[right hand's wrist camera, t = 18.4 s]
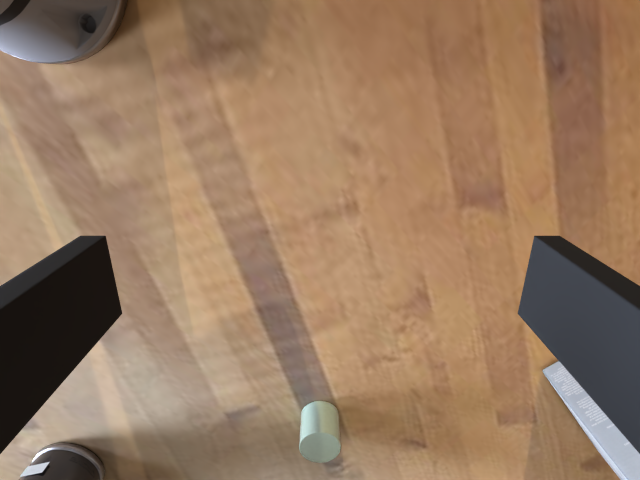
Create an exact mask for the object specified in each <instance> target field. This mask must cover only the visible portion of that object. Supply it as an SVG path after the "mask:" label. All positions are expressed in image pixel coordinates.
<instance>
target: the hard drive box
mask: <svg viewBox="0 0 640 480" xmlns="http://www.w3.org/2000/svg"><path fill="white" fill-rule="evenodd" d="M543 373H544V374H545V376H546V377H547V379H548V380H549V381H550V383H551V384H552V386H553V387H554V389H555V390H556V391H557V393H558V394H559V396H560V397H561V398H562V400H563V401H564V403H565V404H566V406H567V407H568V409H569V410H570V412H571V413H572V414H573V416H574V417H575V419H576V420H577V422H578V423H579V425H580V426H581V427H582V429H583V430H584V432H585V433H586V435H587V436H588V437H589V439H590V440H591V442H592V443H593V445H594V446H595V447H596V449H597V450H598V451H599V453H600V454H601V455H602V457H603V458H604V459H605V460H606V462H607V463H608V464H609V465H610V467H611V468H612V469H613V471H614V472H615V473H616V474H617V476H618V477H619V478H620V480H640V454H639V453H638V451H637V450H636V449H635V448H634V447H633V446H632V444H631V443H630V442H629V441H628V440H627V439H626V438H625V436H624V435H623V434H622V433H621V432H620V431H619V430H618V428H617V427H616V426H615V425H614V424H613V423H612V421H611V420H610V419H609V418H608V417H607V416H606V415H605V413H604V412H603V411H602V410H601V409H600V408H599V406H598V405H597V404H596V403H595V402H594V401H593V400H592V398H591V397H590V396H589V395H588V394H587V393H586V392H585V390H584V389H583V388H582V387H581V386H580V385H579V383H578V382H577V381H576V380H575V379H574V378H573V377H572V375H571V374H570V373H569V372H568V371H567V370H566V368H565V367H564V366H563V365H562V364H561V363H560V362H559V361H558V362H556V363H554V364H552V365H551V366H549V367H547V368H545V369H544V370H543Z"/></svg>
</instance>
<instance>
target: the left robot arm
mask: <svg viewBox="0 0 640 480" xmlns="http://www.w3.org/2000/svg"><path fill="white" fill-rule="evenodd" d="M103 478H104V467H103V464H102V462H101V461H100V459H99V458H98V457H97V456H96V455H95V454H93V453H92V452H91V451H89V450H87V449H86V448H83V447H81V446H78V445H75V444H70V443H55V444H51V445H48V446H46V447H44V448H43V449H41V450H40V451H39V453H38V454H37V455H36V456H35V458H34V459H33V461H32V463H31V464H30V466H27V468H26V469H25V470H24V472H23V473H22V474H21V476H20V478H19V480H103Z"/></svg>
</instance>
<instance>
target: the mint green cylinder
mask: <svg viewBox="0 0 640 480" xmlns="http://www.w3.org/2000/svg"><path fill="white" fill-rule="evenodd" d="M299 450H300V452H301V454H302V456H303V457H304V458H306V459H307V460H309V461H312V462H316V463H324V462H328V461H331V460H333V459H334V458H336V457H337V456H338V454H339V452H340V450H341V443H340V425H339V413H338V410H337V408H336V407H335V406H334V405H332V404H331V403H329V402H325V401H315V402H311V403H309V404H308V405H306V406H305V407H304V408H303V410H302V413H301V425H300V443H299Z"/></svg>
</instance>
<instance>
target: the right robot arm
mask: <svg viewBox="0 0 640 480" xmlns="http://www.w3.org/2000/svg"><path fill="white" fill-rule="evenodd" d="M126 4H127V0H0V50H1V51H3V52H5V53H8V54H10V55H12V56H15V57H18V58H20V59H24V60H27V61H31V62H38V63H48V64H68V63H74V62H78V61H81V60H84V59H86V58H89V57H90V56H92V55H94V54H96V53H97V52H98V51H100V50H101V49H102V48H103V47H104V46H105V45H106V44H107V43H108V42H109V41H110V40H111V39H112V37H113V36H114V34H115V33H116V31H117V30H118V28H119V26H120V23H121V21H122V18H123V16H124V12H125V8H126ZM121 314H122V310H121V306H120V301H119V296H118V292H117V287H116V282H115V278H114V273H113V268H112V264H111V259H110V254H109V250H108V245H107V240H106V236H80V237H78V238H76V239H75V240H73V241H72V242H70V243H68V244H67V245H65V246H64V247H62V248H60V249H59V250H57V251H56V252H54V253H52V254H51V255H49V256H48V257H46V258H44V259H43V260H41V261H40V262H38V263H36V264H35V265H33V266H32V267H30V268H29V269H27V270H25V271H24V272H22V273H21V274H19V275H17V276H16V277H14V278H13V279H11V280H9V281H8V282H6V283H5V284H3V285H1V286H0V454H1V453H2V451H3V450H4V449H5V448H6V447H7V446H8V444H9V443H10V442H11V441H12V440H13V439H14V438H15V436H16V435H17V434H18V433H19V432H20V431H21V430H22V428H23V427H24V426H25V425H26V424H27V423H28V421H29V420H30V419H31V418H32V417H33V416H34V415H35V413H36V412H37V411H38V410H39V409H40V408H41V406H42V405H43V404H44V403H45V402H46V401H47V400H48V398H49V397H50V396H51V395H52V394H53V393H54V391H55V390H56V389H57V388H58V387H59V386H60V385H61V383H62V382H63V381H64V380H65V379H66V378H67V377H68V375H69V374H70V373H71V372H72V371H73V370H74V368H75V367H76V366H77V365H78V364H79V363H80V362H81V360H82V359H83V358H84V357H85V356H86V355H87V353H88V352H89V351H90V350H91V349H92V348H93V347H94V345H95V344H96V343H97V342H98V341H99V340H100V339H101V337H102V336H103V335H104V334H105V333H106V332H107V330H108V329H109V328H110V327H111V326H112V325H113V324H114V322H115V321H116V320H117V319H118V318H119V317H120V315H121ZM518 314H519V315H520V317H521V318H522V319H523V320H524V321H525V322H526V324H527V325H528V326H529V327H530V328H531V329H532V330H533V332H534V333H535V334H536V335H537V336H538V337H539V339H540V340H541V341H542V342H543V343H544V344H545V345H546V347H547V348H548V349H549V350H550V351H551V352H552V353H553V355H554V356H555V357H556V358H557V359H558V360H559V362H560V363H561V364H562V365H563V366H564V367H565V368H566V370H567V371H568V372H569V373H570V374H571V375H572V377H573V378H574V379H575V380H576V381H577V382H578V383H579V385H580V386H581V387H582V388H583V389H584V390H585V392H586V393H587V394H588V395H589V396H590V397H591V398H592V400H593V401H594V402H595V403H596V404H597V405H598V406H599V408H600V409H601V410H602V411H603V412H604V413H605V415H606V416H607V417H608V418H609V419H610V420H611V421H612V423H613V424H614V425H615V426H616V427H617V428H618V430H619V431H620V432H621V433H622V434H623V435H624V436H625V438H626V439H627V440H628V441H629V442H630V443H631V444H632V446H633V447H634V448H635V449H636V450H637V451H638V453H639V454H640V286H639V285H637V284H635V283H634V282H632V281H631V280H629V279H627V278H626V277H624V276H623V275H621V274H619V273H618V272H616V271H615V270H613V269H611V268H610V267H608V266H607V265H605V264H604V263H602V262H600V261H599V260H597V259H596V258H594V257H592V256H591V255H589V254H588V253H586V252H584V251H583V250H581V249H580V248H578V247H576V246H575V245H573V244H572V243H570V242H568V241H567V240H565V239H564V238H562V237H560V236H534V240H533V245H532V250H531V254H530V259H529V264H528V268H527V273H526V278H525V282H524V287H523V292H522V296H521V301H520V306H519V310H518Z"/></svg>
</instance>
